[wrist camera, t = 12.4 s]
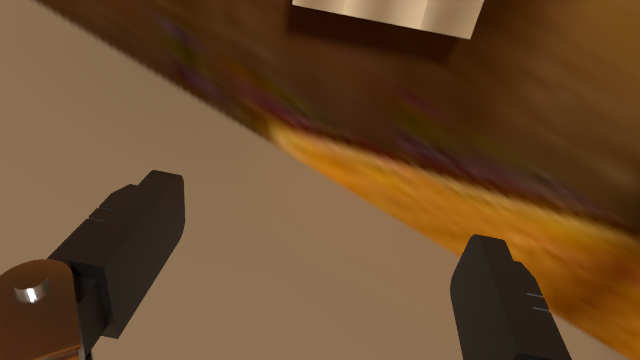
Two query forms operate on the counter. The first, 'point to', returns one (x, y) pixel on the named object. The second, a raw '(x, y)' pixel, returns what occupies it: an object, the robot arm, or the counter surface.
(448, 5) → the beige flat frame
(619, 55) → the counter surface
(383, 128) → the counter surface
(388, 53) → the counter surface
